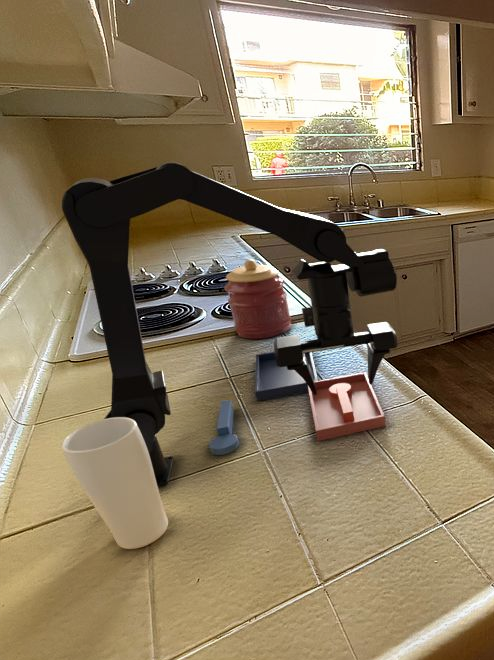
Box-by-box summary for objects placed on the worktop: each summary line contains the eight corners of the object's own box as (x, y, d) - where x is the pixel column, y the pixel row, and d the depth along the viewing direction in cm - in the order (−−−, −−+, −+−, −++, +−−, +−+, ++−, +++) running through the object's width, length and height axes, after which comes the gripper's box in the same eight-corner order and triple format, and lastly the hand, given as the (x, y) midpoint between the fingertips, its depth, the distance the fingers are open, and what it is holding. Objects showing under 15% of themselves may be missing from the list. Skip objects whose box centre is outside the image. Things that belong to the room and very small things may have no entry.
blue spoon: (216, 414, 81) (213, 402, 80) (241, 409, 82) (238, 398, 81) (209, 457, 70) (205, 445, 69) (238, 451, 71) (235, 438, 70)
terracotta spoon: (362, 421, 78) (360, 409, 77) (337, 427, 76) (335, 415, 75) (350, 386, 89) (348, 375, 87) (328, 390, 87) (326, 379, 86)
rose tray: (385, 426, 78) (384, 416, 77) (317, 441, 74) (315, 430, 73) (366, 380, 92) (365, 371, 91) (308, 391, 88) (307, 382, 87)
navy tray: (319, 389, 88) (318, 380, 88) (257, 401, 85) (254, 392, 84) (311, 354, 102) (310, 346, 102) (257, 362, 99) (255, 354, 98)
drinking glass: (127, 566, 53) (75, 460, 46) (100, 540, 56) (48, 439, 49) (187, 527, 58) (149, 427, 51) (159, 506, 61) (119, 410, 54)
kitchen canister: (256, 344, 107) (239, 269, 99) (225, 332, 114) (206, 261, 106) (303, 326, 117) (291, 257, 109) (271, 316, 123) (257, 250, 115)
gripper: (379, 281, 82) (387, 359, 89) (265, 293, 75) (283, 377, 82) (394, 300, 73) (401, 386, 80) (265, 316, 66) (286, 408, 73)
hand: (343, 388), depth 79 cm, fingers open, 9 cm apart
